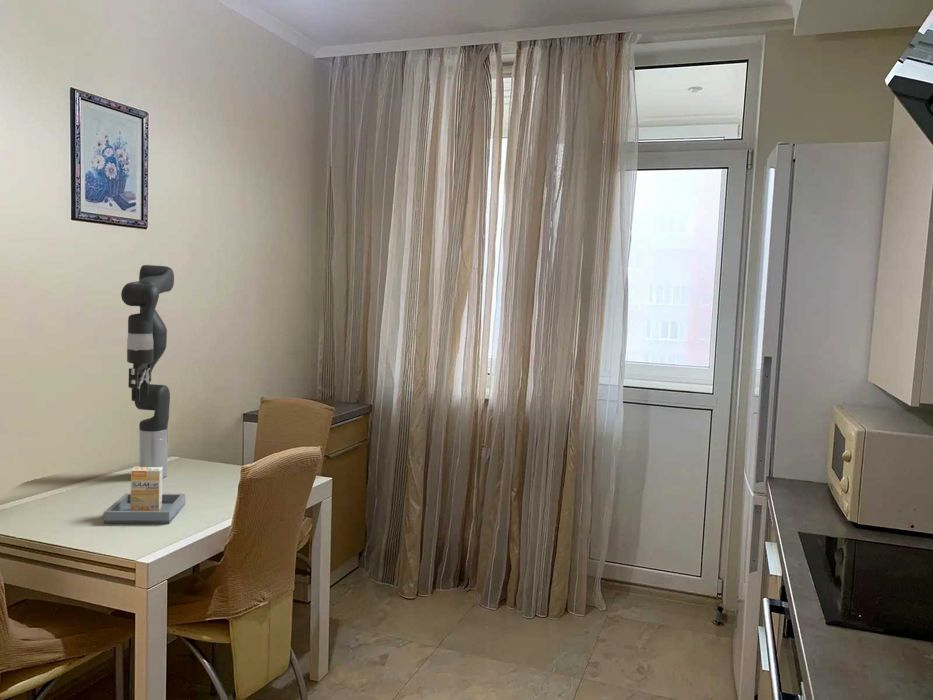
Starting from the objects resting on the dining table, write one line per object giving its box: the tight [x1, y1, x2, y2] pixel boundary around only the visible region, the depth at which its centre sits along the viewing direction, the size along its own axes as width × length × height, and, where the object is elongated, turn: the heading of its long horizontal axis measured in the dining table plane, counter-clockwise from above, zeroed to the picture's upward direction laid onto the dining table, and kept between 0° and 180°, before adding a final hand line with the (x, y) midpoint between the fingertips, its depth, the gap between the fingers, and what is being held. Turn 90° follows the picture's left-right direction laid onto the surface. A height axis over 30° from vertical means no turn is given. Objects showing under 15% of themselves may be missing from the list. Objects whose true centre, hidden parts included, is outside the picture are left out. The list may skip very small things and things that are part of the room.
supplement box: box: [130, 466, 163, 511], centre depth 214 cm, size 8×5×13 cm, turn 103°
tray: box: [103, 492, 186, 525], centre depth 215 cm, size 18×18×4 cm
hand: (140, 398), depth 224 cm, fingers open, 8 cm apart
